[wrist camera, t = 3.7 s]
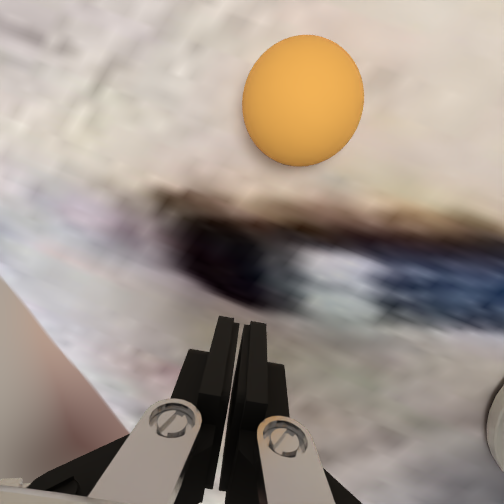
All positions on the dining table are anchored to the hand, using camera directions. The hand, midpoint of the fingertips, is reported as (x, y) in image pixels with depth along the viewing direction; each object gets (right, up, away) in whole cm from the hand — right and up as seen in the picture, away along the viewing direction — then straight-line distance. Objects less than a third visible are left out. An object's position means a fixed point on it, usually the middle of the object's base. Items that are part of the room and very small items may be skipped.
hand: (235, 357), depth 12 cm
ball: (+3, +10, +4) cm, 12 cm away
